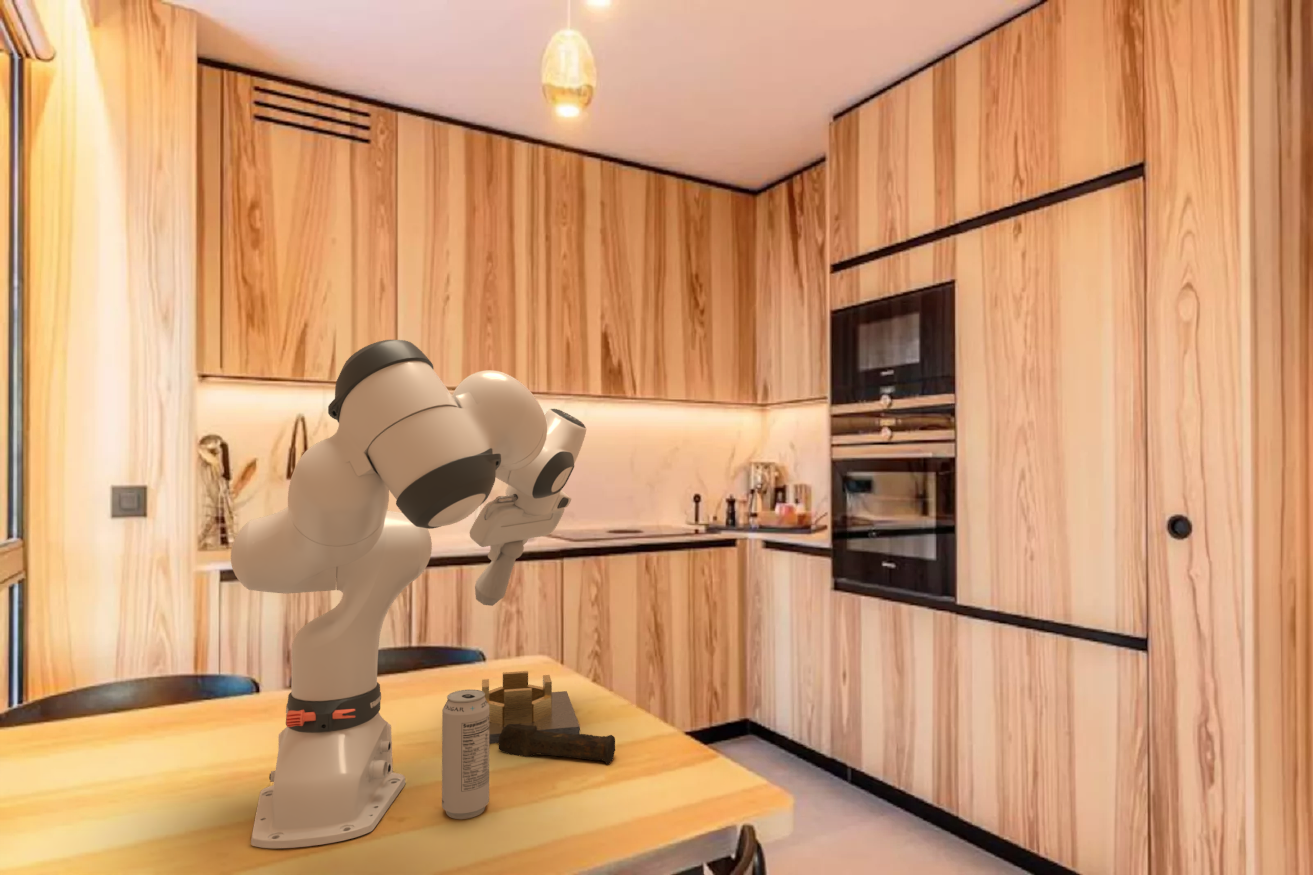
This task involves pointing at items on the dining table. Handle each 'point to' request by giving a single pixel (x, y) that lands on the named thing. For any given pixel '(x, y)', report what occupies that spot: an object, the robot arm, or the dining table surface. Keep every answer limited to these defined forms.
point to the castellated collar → (528, 706)
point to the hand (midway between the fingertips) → (501, 557)
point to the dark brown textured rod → (555, 743)
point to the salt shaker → (497, 574)
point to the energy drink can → (465, 754)
